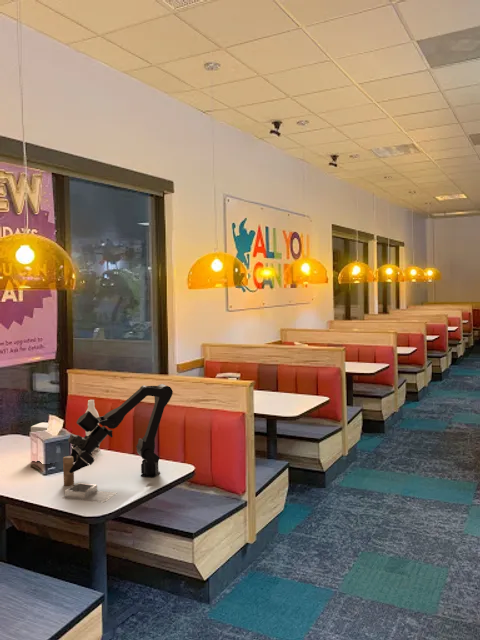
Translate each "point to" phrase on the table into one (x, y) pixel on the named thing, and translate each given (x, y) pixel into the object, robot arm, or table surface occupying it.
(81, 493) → the beige square tray
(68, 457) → the stay rod
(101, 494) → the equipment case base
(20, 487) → the table surface
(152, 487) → the table surface
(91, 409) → the water bottle
